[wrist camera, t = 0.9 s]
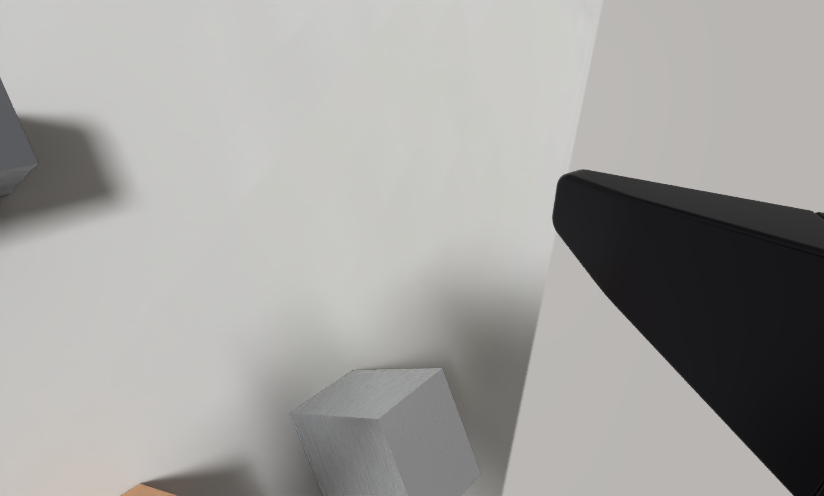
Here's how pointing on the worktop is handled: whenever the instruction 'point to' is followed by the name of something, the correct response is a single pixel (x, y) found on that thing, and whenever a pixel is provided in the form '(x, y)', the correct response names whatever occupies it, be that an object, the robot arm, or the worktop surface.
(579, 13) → the worktop surface
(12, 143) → the block
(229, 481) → the worktop surface
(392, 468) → the steel block
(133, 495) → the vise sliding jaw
